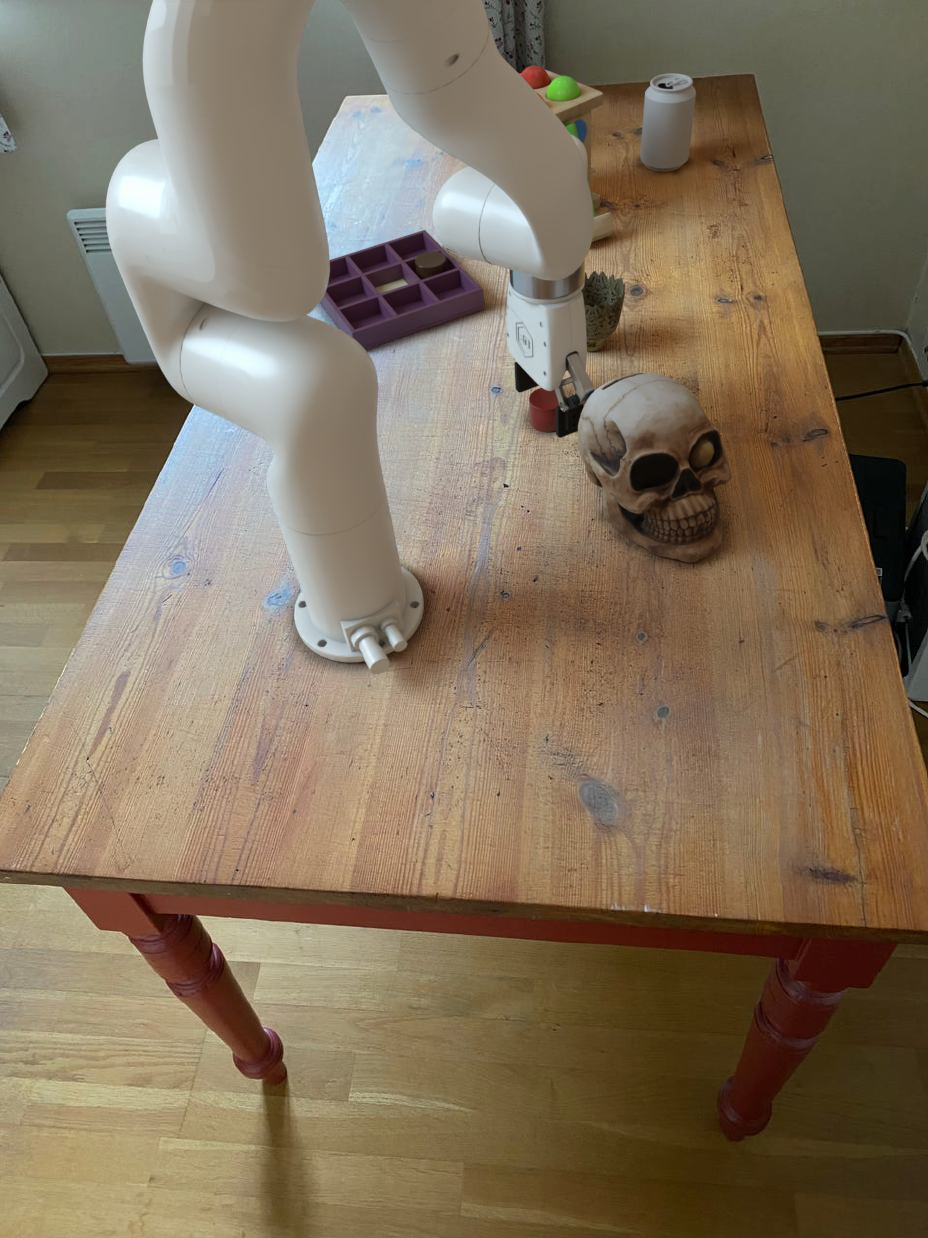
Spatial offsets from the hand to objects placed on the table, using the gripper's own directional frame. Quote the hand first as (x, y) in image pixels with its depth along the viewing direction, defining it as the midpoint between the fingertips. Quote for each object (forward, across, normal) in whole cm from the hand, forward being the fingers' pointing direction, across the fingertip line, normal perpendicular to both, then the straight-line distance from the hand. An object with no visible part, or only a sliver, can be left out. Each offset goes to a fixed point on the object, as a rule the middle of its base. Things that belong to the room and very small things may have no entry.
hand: (548, 409), depth 102 cm
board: (+2, -34, -5) cm, 34 cm away
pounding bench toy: (+2, -41, +24) cm, 47 cm away
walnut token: (+1, -34, +1) cm, 34 cm away
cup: (+2, -10, +12) cm, 16 cm away
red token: (+2, 0, 0) cm, 2 cm away
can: (+2, -46, +47) cm, 66 cm away
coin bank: (+2, +17, +3) cm, 17 cm away
